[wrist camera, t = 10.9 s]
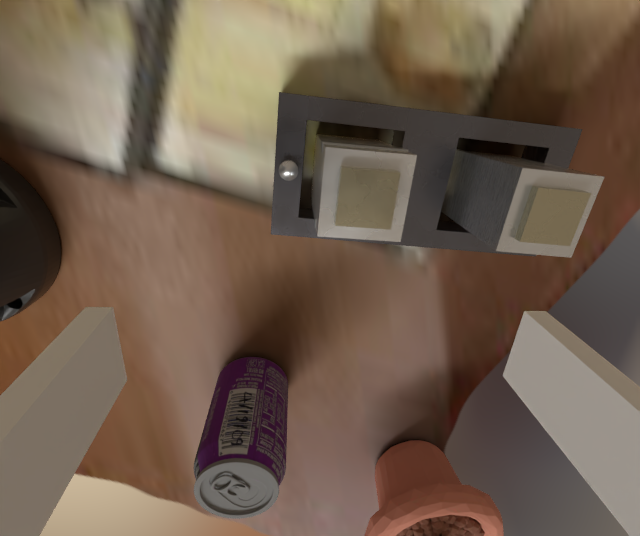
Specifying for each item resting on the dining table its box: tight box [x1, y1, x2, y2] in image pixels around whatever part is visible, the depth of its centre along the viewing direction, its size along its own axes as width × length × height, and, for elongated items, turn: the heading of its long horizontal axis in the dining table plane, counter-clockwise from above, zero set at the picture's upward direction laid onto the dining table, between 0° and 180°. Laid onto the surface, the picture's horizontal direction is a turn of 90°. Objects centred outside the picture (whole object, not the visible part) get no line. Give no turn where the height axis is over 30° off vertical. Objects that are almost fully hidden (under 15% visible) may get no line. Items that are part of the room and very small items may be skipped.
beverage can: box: [194, 357, 288, 518], centre depth 32 cm, size 7×7×12 cm
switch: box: [271, 92, 604, 257], centre depth 25 cm, size 22×10×11 cm, turn 84°
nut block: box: [311, 134, 417, 242], centre depth 25 cm, size 5×5×11 cm
